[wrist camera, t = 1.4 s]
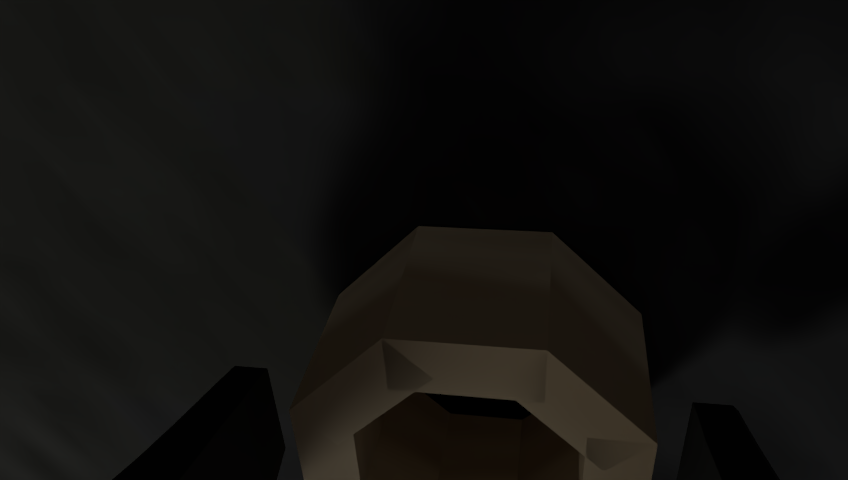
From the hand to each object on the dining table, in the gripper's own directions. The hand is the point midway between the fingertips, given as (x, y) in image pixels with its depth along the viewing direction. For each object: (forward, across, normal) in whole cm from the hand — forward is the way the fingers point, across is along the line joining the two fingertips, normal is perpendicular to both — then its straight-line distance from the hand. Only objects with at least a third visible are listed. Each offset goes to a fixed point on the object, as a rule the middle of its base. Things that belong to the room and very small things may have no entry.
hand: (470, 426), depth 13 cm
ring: (+2, 0, 0) cm, 2 cm away
